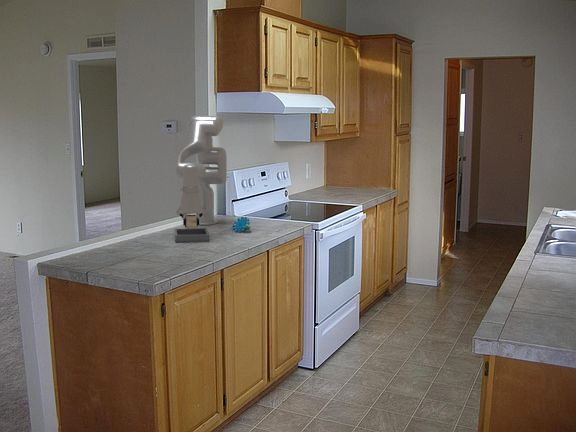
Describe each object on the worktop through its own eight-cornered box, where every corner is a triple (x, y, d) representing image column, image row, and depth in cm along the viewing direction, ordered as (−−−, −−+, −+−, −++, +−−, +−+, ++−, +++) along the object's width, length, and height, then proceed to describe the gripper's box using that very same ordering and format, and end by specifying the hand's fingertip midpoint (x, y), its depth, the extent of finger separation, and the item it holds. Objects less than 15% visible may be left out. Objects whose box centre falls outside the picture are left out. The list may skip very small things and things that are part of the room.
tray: (174, 235, 314) (174, 229, 313) (206, 234, 317) (206, 228, 316) (175, 242, 298) (175, 235, 298) (209, 241, 302) (209, 234, 301)
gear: (228, 228, 327) (239, 213, 330) (233, 234, 331) (244, 220, 334) (242, 234, 320) (253, 219, 323) (247, 240, 324) (258, 225, 327)
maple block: (185, 226, 308) (185, 214, 307) (196, 226, 309) (195, 214, 308) (186, 228, 303) (186, 216, 302) (196, 228, 305) (196, 216, 303)
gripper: (173, 191, 298) (174, 228, 301) (209, 190, 301) (209, 227, 305) (172, 189, 305) (173, 225, 308) (207, 188, 309) (207, 224, 312)
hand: (191, 226), depth 306 cm, fingers closed on maple block, 5 cm apart
